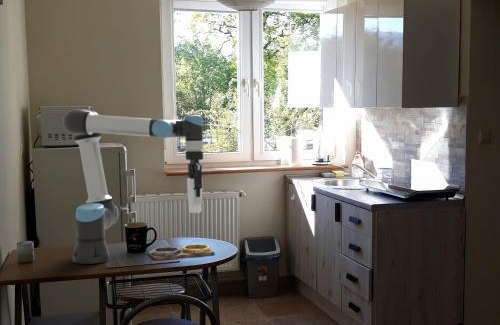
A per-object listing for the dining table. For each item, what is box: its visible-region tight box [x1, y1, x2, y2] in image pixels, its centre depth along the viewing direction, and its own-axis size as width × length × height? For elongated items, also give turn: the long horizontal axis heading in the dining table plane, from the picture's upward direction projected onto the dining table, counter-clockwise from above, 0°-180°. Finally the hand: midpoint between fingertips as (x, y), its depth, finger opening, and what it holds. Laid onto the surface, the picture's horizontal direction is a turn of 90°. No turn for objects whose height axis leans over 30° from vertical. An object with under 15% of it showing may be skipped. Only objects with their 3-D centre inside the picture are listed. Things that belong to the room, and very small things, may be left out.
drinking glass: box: [186, 177, 204, 214], centre depth 254 cm, size 7×7×15 cm
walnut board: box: [148, 247, 215, 261], centre depth 253 cm, size 26×13×1 cm, turn 112°
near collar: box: [151, 246, 181, 256], centre depth 251 cm, size 12×12×2 cm
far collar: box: [181, 243, 211, 253], centre depth 256 cm, size 12×12×2 cm
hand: (195, 203), depth 254 cm, fingers closed on drinking glass, 7 cm apart
